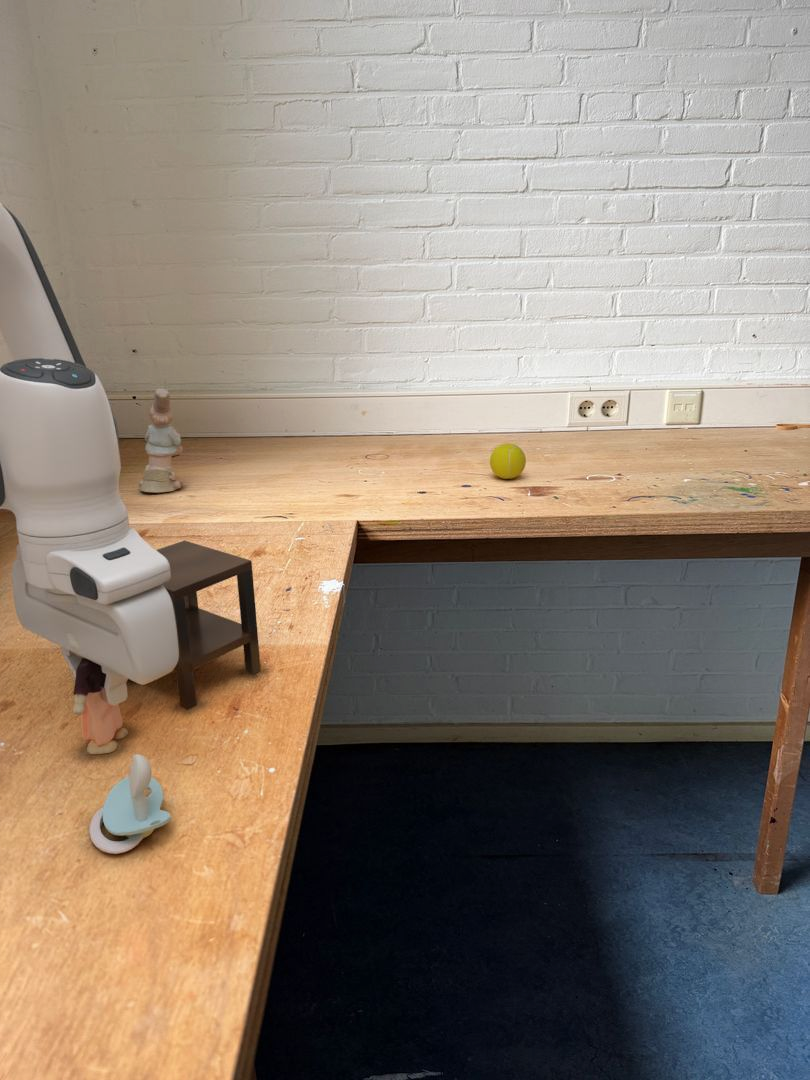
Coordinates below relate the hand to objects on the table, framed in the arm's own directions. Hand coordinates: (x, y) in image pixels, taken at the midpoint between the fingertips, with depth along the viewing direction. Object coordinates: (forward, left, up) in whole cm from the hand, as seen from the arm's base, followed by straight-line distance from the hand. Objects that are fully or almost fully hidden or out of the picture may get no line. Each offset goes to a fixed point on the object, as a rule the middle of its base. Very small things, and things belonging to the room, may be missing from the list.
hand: (101, 694), depth 73 cm
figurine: (-69, +58, -5) cm, 90 cm away
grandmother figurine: (0, 0, -5) cm, 5 cm away
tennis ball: (-17, +103, -5) cm, 104 cm away
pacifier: (+12, -6, -5) cm, 14 cm away
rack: (-4, +13, -5) cm, 15 cm away
